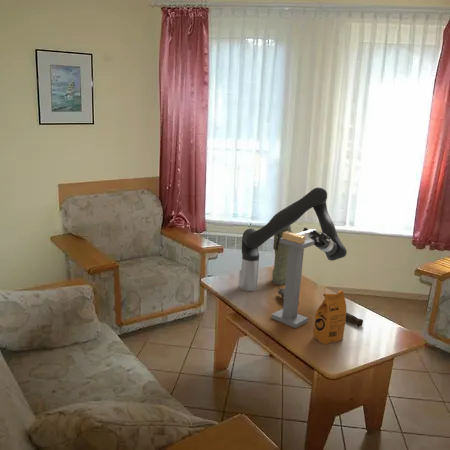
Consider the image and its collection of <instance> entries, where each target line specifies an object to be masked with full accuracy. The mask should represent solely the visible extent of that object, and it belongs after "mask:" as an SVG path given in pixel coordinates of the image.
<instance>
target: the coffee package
mask: <svg viewBox="0 0 450 450" xmlns="http://www.w3.org/2000/svg"><path fill="white" fill-rule="evenodd" d="M322 296H323V297H324V299H323V301H322V303H321V304H320V305H319V307H318V308H317V310H316V313H315V315H314V316H315V317H314V325H313V332H312V334H313V337H314V339H316V340H317V341H319V342H320V343H321V344H323V345H328V344H330V343H334V344H335V343H338V342H340V341H342V340H343V339H344V332H345V327H346V321H347V320H346V312H347V304H346V302H347V301H346V299H345V293H344V290H343V289H339V291H337V293H324V294H323V295H322Z"/></svg>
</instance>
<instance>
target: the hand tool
mask: <svg viewBox="0 0 450 450" xmlns="http://www.w3.org/2000/svg"><path fill="white" fill-rule="evenodd" d="M346 321H347V322H349V323H350V324H352V325H354V326H356V328H361V327H362V326H363V323H364V320H363V319H361V318H359V317H357V316H355V315H353V314H351V313H349V312H347V311H346Z"/></svg>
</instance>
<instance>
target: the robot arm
mask: <svg viewBox="0 0 450 450" xmlns="http://www.w3.org/2000/svg"><path fill="white" fill-rule="evenodd" d="M327 198H328V192H327V189H325V188H324V187H315V188H312V189H311V190H310V191H309V192H307V194H305V195H304V196H302V197H300V198H299V199H298V200H296V201H294V202H293V203H291V204H290V205H287V207H285V208H282V209H281V210H280V211H278V212H276V214H274V215H273V216H272V217H271V219H270V220H269V221H268V223H267V224H265V225H263V226H262V227H261V228H259V229H257V230H256V229H255V228H247V229H245V230H244V231H243V233H242V236H241V256H242V257H241V270H239V279H238V288H240V289H241V290H242V291H247V292H253V291H256V290H257V289H258V279H259V278H258V277H259V266H260V265H259V264H260V252H259V247H260V246H262V245H263V244H264V243H265V242H267V241H269V240H270V239H271V238H272V237H274V235H275V234H277V233H278V232H280V231H281V230H283V229H285V228H286V227H288V226H292V224H294V223H296V222H297V221H298V220H299V219H300V218H301V217H302V216H303V215H305V213H307V212H308V211H309V210H310V209H312V208H313V211H314V212H315V214H316V217H317V219H318V224H319V226H320V229H321V232H318V230H317V231H315V230H316V229H315V230H313V232H312V235H314V236H311V237H308V239H310V240H314V245H313V246H315V247H316V248H317V249H319V250H320V251H322V252H324V253H325V255H326V259H327V260H328V261H331V262H333V261H336V260H340V259H342V258H345V257H346V256H347V252H348V251H347V249H346V247H345V245H344V244H343V242H342V241H341V239H340V238H339V235H338V233H337V232H338V231H337V230H336V227H335V224H334V222H333V220H332V218H331V216H330V214H329V211H328V207H327V206H328V205H327ZM306 230H309V229H308V228H307V227H304V228H303V230H302V232H303V231H306Z"/></svg>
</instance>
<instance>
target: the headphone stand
mask: <svg viewBox="0 0 450 450" xmlns="http://www.w3.org/2000/svg"><path fill="white" fill-rule="evenodd" d="M280 243H283V244H286V245H289V251H288V261H287V272H286V283H285V285H284V288H285V293H284V297H283V303H282V304H283V305H282V308H281V309H279V310H277V311H275V312H273V313H271V315H270V316H271V319H273V320H275V321H277V322H280V323H282V324H285V325H287V326H289V327H291V328H294V329H297V328H299V327H301V326H302V325H304V324H306V323H308V322H309V321H308V320H309V317H308V316H304V315H301V314H300V313H298V312H299V311H298V309H299V303H300V302H299V300H300V291H301V283H302V282H301V281H302V272H303V262H304V261H303V260H304V254H305V253H304V251H305V249H306V248H308V247H312V246H315V245H314V240H312V239H310V238H305V243H303V244H299V243H295V242H292V241H288V240H285V239H283V238H280Z"/></svg>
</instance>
